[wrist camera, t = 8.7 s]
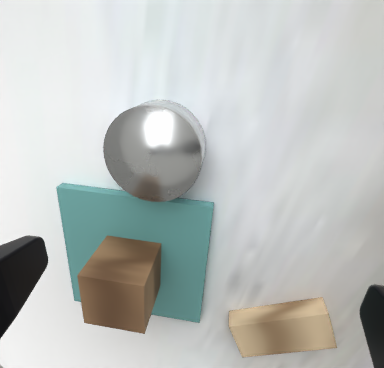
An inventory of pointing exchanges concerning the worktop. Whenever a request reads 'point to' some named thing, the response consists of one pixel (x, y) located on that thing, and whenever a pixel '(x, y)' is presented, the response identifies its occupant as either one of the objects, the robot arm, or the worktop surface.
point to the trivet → (146, 231)
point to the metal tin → (155, 150)
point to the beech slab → (282, 328)
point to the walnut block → (121, 283)
